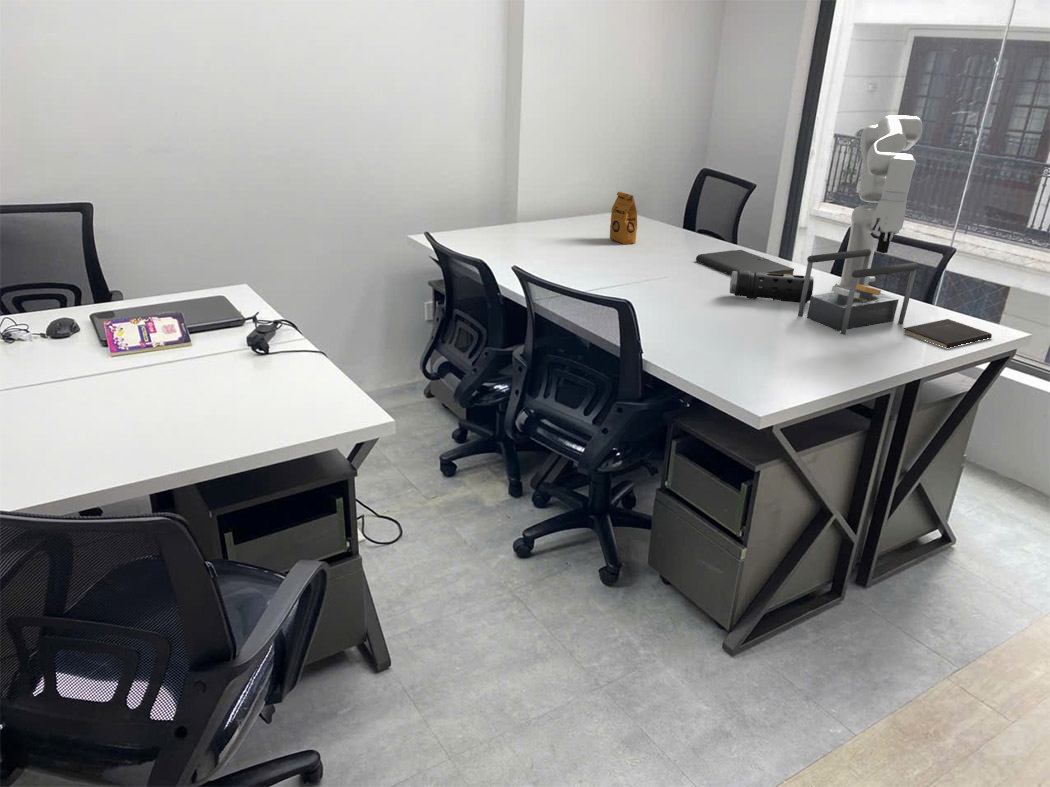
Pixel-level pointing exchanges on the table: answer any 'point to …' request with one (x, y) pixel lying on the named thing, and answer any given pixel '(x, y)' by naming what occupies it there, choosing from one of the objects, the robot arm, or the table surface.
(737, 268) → the file folder
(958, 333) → the hardcover book
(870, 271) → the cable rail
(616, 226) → the coffee package
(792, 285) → the muzzle brake
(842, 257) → the rail
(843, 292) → the set paddle
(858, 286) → the paddle
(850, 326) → the box
